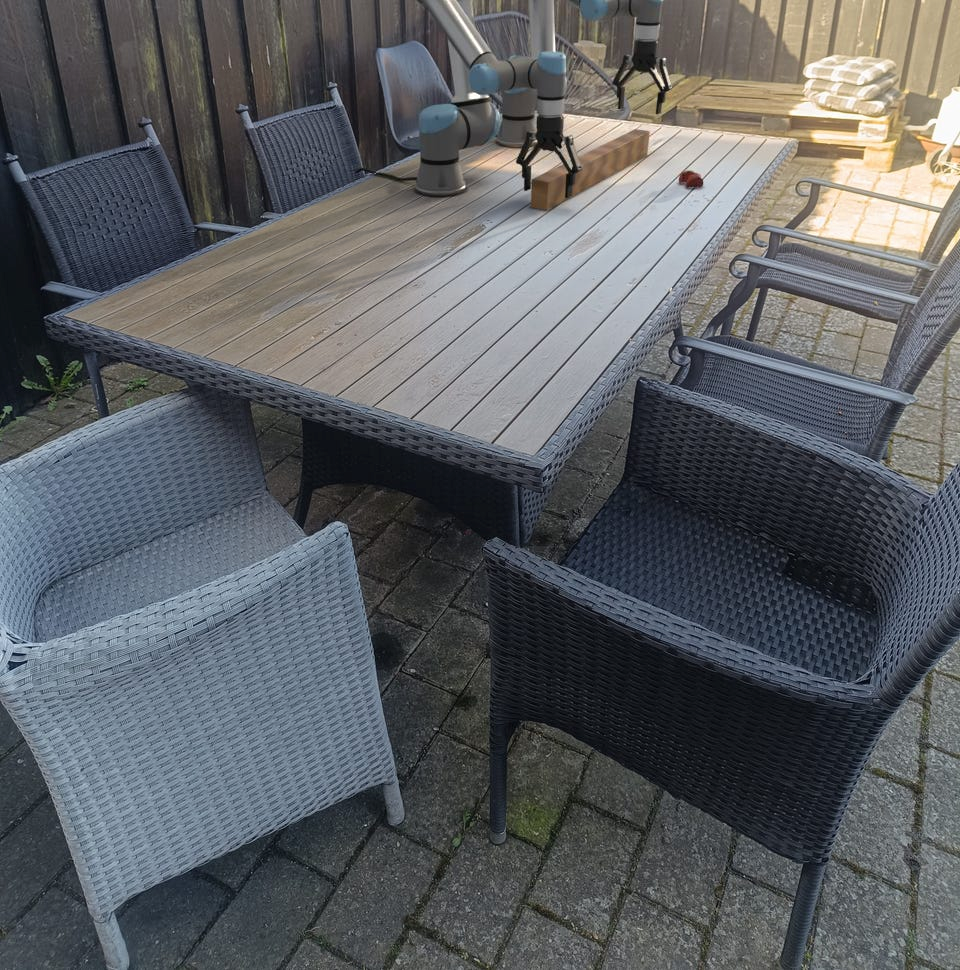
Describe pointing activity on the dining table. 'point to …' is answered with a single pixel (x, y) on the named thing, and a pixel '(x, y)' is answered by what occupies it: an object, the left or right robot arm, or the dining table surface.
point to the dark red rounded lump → (691, 179)
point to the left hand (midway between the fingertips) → (547, 193)
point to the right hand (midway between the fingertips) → (639, 111)
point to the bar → (589, 169)
